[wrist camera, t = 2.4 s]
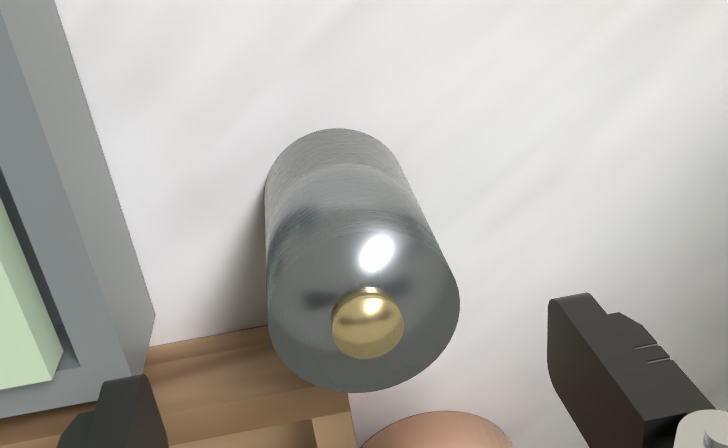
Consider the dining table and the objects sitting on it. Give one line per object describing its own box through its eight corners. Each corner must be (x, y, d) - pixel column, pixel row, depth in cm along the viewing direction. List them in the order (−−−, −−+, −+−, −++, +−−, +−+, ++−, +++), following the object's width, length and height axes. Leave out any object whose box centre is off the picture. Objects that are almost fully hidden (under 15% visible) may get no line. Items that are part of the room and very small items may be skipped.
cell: (398, 117, 21) (460, 225, 14) (411, 244, 23) (470, 387, 16) (251, 141, 20) (249, 262, 14) (278, 267, 22) (287, 422, 16)
